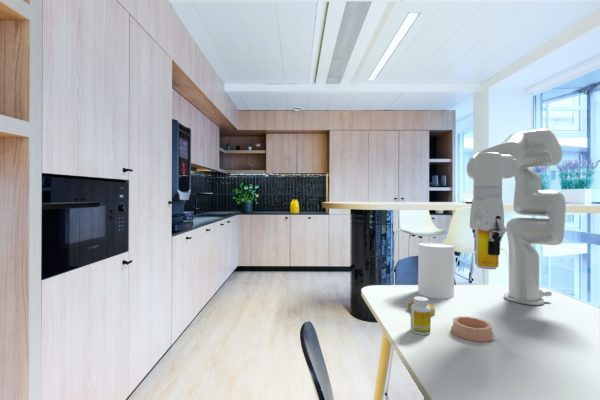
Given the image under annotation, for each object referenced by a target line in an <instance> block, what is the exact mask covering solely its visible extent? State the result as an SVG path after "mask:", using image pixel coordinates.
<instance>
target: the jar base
mask: <svg viewBox="0 0 600 400" xmlns="http://www.w3.org/2000/svg"><path fill="white" fill-rule="evenodd" d="M452 320H453V321H452V323H453V325H452V326H451V328H450V329H451V333H452V334H453V335H454V336H456V337H458V338H461V339H463V340H466V341H469V342H475V343H489V342H493V340H494V339H495V335H494V332H493V331H492V330H493V327H492V324H491V323H489V321H486V320H484V319H480V318H477V317H472V316H456V317H453V319H452Z"/></svg>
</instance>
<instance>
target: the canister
mask: <svg viewBox="0 0 600 400" xmlns="http://www.w3.org/2000/svg"><path fill="white" fill-rule="evenodd" d="M417 245H418V246H417V247H418V255H417V256H418V259H417V260H418V261H417V262H418V265H417V266H418V270H417V272H418V273H417V274H418V275H417V293H418V294H419V295H420V296H422V297H426V298H431V299H439V300H447V299H452V298H454V297H455V245H454V244H449V243H442V242H420V243H418V244H417Z"/></svg>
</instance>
